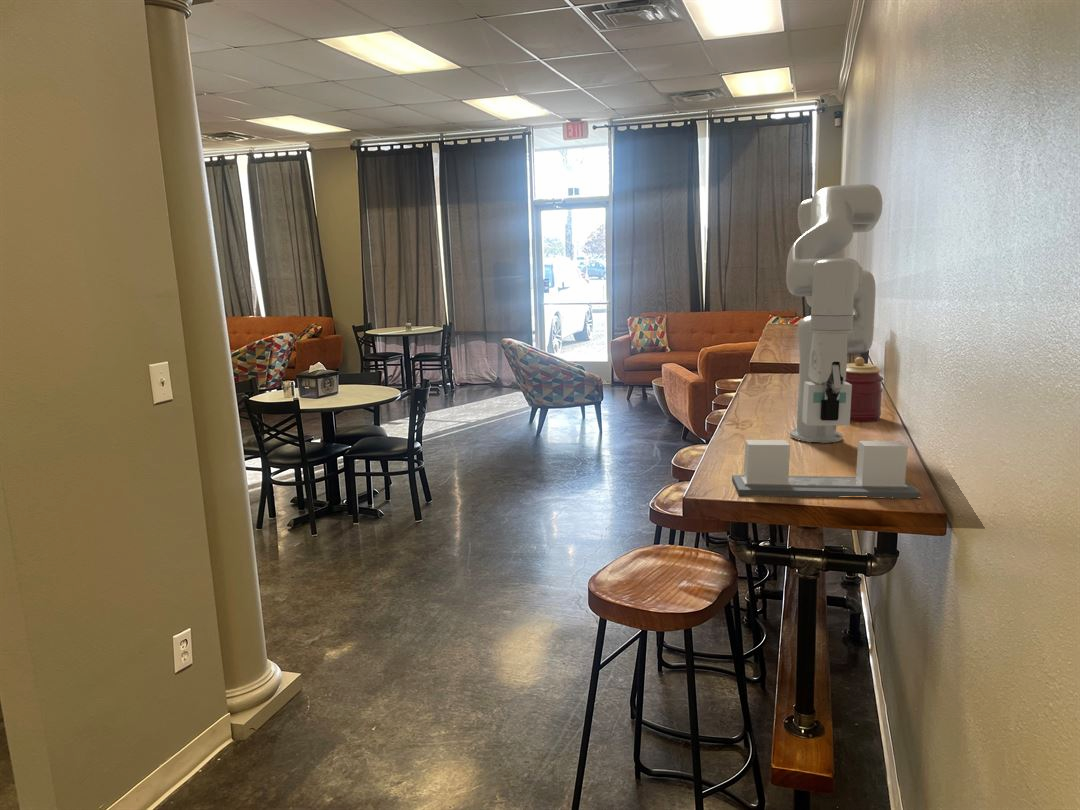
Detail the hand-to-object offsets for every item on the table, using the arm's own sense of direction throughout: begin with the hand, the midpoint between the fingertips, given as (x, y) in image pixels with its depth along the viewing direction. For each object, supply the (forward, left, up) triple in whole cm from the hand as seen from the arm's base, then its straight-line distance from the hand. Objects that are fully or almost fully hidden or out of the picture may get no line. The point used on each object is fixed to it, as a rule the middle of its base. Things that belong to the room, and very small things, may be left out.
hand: (825, 416), depth 143 cm
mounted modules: (0, 0, -13) cm, 13 cm away
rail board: (0, 0, -15) cm, 15 cm away
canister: (-69, +26, -15) cm, 75 cm away
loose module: (0, 0, -1) cm, 1 cm away
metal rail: (0, 0, -14) cm, 14 cm away
